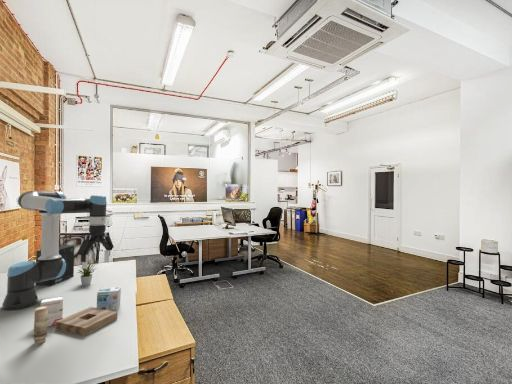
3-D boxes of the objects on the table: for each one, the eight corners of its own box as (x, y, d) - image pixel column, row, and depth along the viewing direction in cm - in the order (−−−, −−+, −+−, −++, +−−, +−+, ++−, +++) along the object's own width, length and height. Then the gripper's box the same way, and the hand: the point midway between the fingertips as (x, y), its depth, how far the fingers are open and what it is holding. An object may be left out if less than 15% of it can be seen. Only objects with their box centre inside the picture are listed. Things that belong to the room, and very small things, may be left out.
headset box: (51, 286, 183) (52, 248, 184) (34, 285, 184) (35, 247, 184) (74, 276, 206) (75, 242, 206) (59, 276, 206) (60, 242, 207)
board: (55, 329, 125) (55, 321, 125) (90, 313, 142) (90, 306, 142) (84, 336, 119) (85, 328, 120) (117, 318, 137) (117, 311, 137)
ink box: (62, 319, 134) (63, 296, 135) (62, 323, 130) (63, 299, 131) (40, 324, 130) (41, 299, 130) (39, 328, 126) (40, 302, 126)
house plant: (104, 281, 195) (105, 259, 195) (90, 287, 181) (91, 263, 181) (86, 280, 196) (86, 258, 197) (71, 286, 182) (72, 262, 183)
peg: (30, 343, 113) (32, 310, 113) (42, 338, 117) (43, 306, 117) (38, 345, 111) (39, 311, 111) (49, 340, 115) (50, 307, 116)
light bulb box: (96, 312, 144) (96, 292, 144) (99, 307, 150) (100, 288, 151) (117, 310, 147) (118, 290, 147) (120, 305, 153) (121, 286, 153)
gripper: (81, 227, 128) (80, 271, 128) (121, 222, 152) (120, 260, 152) (69, 226, 131) (68, 270, 130) (110, 222, 154) (109, 259, 154)
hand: (96, 265), depth 141 cm, fingers open, 13 cm apart
